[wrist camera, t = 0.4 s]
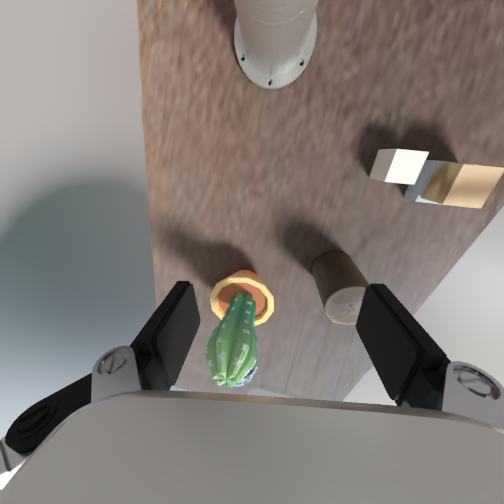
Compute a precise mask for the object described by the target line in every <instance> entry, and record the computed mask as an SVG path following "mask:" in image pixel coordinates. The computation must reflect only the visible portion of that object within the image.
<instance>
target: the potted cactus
mask: <svg viewBox="0 0 504 504" xmlns="http://www.w3.org/2000/svg"><path fill="white" fill-rule="evenodd" d="M210 302H211V307H212V310H213V311H214V313H215V314H216V315H217V316H218V317H219V318H220V319H221V320H222V321H221V322H220V323H219V324H218V326H217V327H216V328H215V329H214V330H213V332H212V334H211V337H210V339H209V342H208V344H207V347H206V349H205V356H206V359H207V363H208V366H209V369H210V371H211V374H212V377H213V379H216V380H217V385H219V386H220V385H222V384H224V383H226V384H227V386H228V387H229V388H231V387H232V386H235V387H238V386H242V385H243V384H247V383H248V382H249V381H250V380H251V378H252V376H253V375H254V373H255V372H256V370H257V368H258V367H257V366H256V368H255V369H253V366H254V364H255V363H256V358H257V339H256V335H255V331H254V326H256V325H258V324H261V323H263V322H266V320H267V319H268V318H269V316H270V315H271V314H272V313H273V311H274V298H273V295H272V293H271V292H270V290H269V289H268V288H267V286H266V285H265V284H264V282H262V281H261V279H260V278H259V276H258V275H257V274H256V273H253V272H251V271H249V270H240V271H238V272H236V273H234V274H233V275H231V276H229V277H227V278H225V279H223V280H222V281H220V282H218V283H217V284H216V286H215V288H214V290H213V292H212V293H211V295H210ZM225 380H226V381H225Z"/></svg>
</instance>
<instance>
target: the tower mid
mask: <svg viewBox="0 0 504 504" xmlns="http://www.w3.org/2000/svg"><path fill="white" fill-rule="evenodd" d="M503 172H504V168H499V167H488V166H478V165H467V164H452V163H438V164H437V166H436V168H435V170H434V172H433V175H432V177H431V179H430V181H429V183H428V185H427V187H426V189H425V191H424V193H423V196H422V199H426V200H429V201H432V202H436V203H439V204H443V205H453V206H462V207H472V208H481V207H482V205H483V204H484V202H485V201H486V199H487V197H488V196H489V194H490V193H491V191H492V189H493V188H494V186H495V185H496V183H497V182H498V180H499V178H500V177H501V175H502V174H503Z"/></svg>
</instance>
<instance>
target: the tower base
mask: <svg viewBox="0 0 504 504" xmlns="http://www.w3.org/2000/svg"><path fill="white" fill-rule="evenodd" d="M438 163H452V164H466V163H456V162H446V161H436V160H425V162H424V165H423V167H422V169H421V171H420V173H419V176H418V178H417V180H416V182H415V184H414V185H412V184H409V186H408V188H407V190H406V192H405V195H404V198H407V199H410V200H413V201H416V202H425V203H434V204H439V203H436V202H432V201H429V200H426V199H422V196H423V193H424V191H425V189H426V187H427V185H428V183H429V181H430V179H431V177H432V175H433V172H434V170H435V168H436V166H437V164H438ZM467 165H475V164H467ZM452 206H453V205H452Z"/></svg>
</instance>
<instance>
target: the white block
mask: <svg viewBox="0 0 504 504" xmlns="http://www.w3.org/2000/svg"><path fill="white" fill-rule="evenodd" d="M428 153H429V152H424V151H414V150H404V149H379V150H378V153H377V156H376V159H375V162H374V165H373V168H372V170H371V173H370V176H369V178H372V179H376V180H380V181H384V182H393V183H402V184H412V185H414V184H415V182H416V180H417V178H418V176H419V173H420V171H421V169H422V167H423V165H424V162H425V160H426V158H427V156H428Z"/></svg>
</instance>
